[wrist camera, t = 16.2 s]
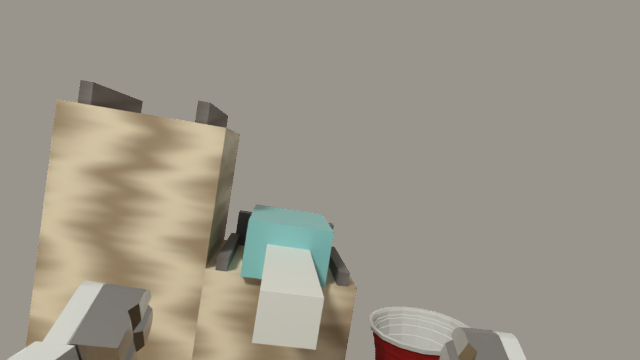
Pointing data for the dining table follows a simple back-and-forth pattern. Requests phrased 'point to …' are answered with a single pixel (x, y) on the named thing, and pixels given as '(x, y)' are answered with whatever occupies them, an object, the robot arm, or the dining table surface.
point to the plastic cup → (410, 333)
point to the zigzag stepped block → (160, 231)
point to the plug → (287, 274)
